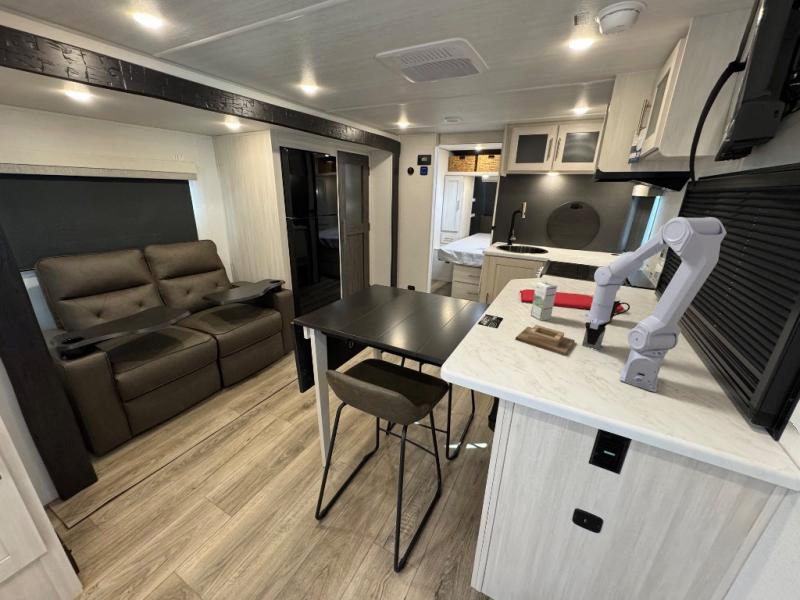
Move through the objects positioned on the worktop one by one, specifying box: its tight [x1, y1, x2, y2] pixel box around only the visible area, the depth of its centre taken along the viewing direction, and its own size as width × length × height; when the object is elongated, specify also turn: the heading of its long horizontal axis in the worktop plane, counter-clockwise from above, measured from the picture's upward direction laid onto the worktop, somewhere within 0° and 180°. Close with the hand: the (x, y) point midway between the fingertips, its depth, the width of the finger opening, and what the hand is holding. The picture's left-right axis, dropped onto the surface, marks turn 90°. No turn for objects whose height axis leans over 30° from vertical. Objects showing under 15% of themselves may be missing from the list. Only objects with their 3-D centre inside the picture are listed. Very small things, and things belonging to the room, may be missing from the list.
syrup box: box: [530, 281, 558, 321], centre depth 124 cm, size 6×6×14 cm
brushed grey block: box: [581, 328, 607, 351], centre depth 102 cm, size 3×5×7 cm, turn 49°
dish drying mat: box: [519, 288, 624, 312], centre depth 143 cm, size 16×41×4 cm, turn 73°
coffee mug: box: [609, 296, 631, 324], centre depth 122 cm, size 12×9×10 cm
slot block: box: [515, 324, 576, 357], centre depth 106 cm, size 12×16×4 cm
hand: (592, 341), depth 103 cm, fingers open, 4 cm apart
